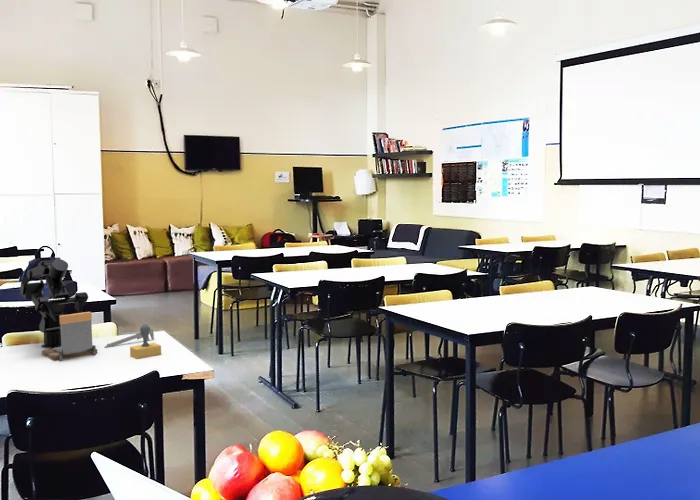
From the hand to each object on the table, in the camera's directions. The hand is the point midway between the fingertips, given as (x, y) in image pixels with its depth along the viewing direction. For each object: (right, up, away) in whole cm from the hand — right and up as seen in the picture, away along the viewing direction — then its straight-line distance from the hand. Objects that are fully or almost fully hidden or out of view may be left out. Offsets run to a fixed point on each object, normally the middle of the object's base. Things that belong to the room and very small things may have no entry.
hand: (68, 319), depth 260 cm
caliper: (+18, -12, +17) cm, 28 cm away
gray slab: (+5, -11, -4) cm, 13 cm away
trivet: (+1, -13, +1) cm, 13 cm away
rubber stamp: (+30, -14, -1) cm, 33 cm away
